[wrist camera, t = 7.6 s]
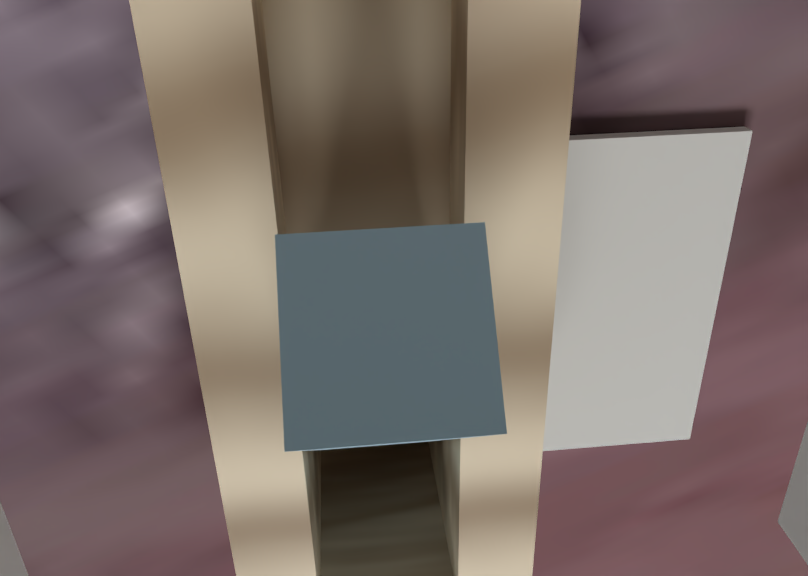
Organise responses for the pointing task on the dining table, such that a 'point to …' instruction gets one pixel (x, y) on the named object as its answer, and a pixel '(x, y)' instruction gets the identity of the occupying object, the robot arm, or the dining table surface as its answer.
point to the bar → (387, 337)
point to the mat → (639, 281)
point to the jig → (354, 210)
